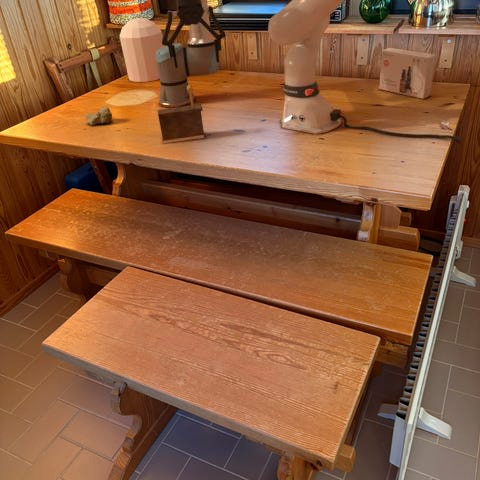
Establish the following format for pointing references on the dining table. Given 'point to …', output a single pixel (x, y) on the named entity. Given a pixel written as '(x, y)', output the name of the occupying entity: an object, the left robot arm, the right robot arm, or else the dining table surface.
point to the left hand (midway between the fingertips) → (197, 64)
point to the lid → (181, 109)
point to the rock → (99, 117)
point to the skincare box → (407, 72)
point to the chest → (181, 127)
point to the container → (141, 49)
